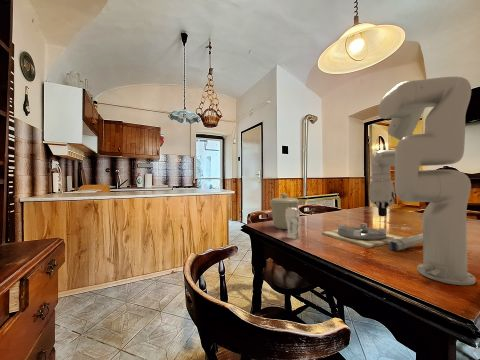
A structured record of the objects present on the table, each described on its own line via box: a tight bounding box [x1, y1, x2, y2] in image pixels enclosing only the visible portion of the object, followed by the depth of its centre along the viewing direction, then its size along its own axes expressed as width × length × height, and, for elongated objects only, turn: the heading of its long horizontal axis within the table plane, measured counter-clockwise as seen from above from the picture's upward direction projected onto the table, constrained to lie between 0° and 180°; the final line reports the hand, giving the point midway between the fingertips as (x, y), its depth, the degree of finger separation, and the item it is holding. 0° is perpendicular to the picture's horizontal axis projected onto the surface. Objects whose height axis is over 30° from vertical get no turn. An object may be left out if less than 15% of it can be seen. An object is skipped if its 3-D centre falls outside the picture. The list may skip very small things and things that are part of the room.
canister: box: [269, 192, 300, 230], centre depth 131 cm, size 18×18×21 cm
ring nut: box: [337, 222, 387, 240], centre depth 107 cm, size 21×21×4 cm
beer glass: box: [285, 207, 300, 240], centre depth 110 cm, size 7×7×15 cm
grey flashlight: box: [388, 233, 423, 252], centre depth 90 cm, size 5×7×25 cm
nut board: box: [321, 229, 407, 249], centre depth 107 cm, size 26×26×1 cm
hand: (382, 215), depth 104 cm, fingers closed
